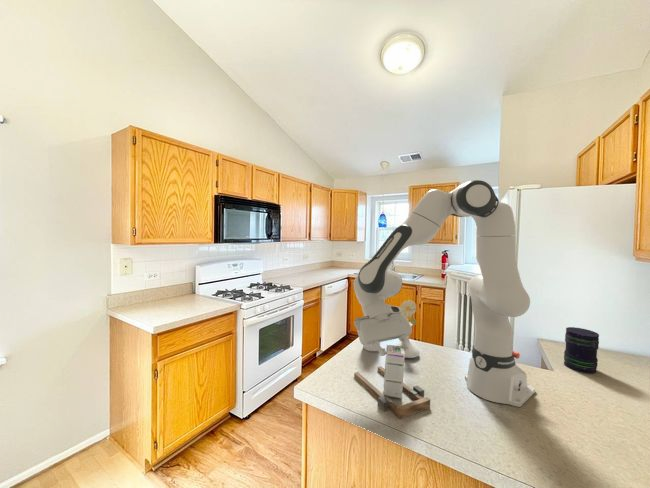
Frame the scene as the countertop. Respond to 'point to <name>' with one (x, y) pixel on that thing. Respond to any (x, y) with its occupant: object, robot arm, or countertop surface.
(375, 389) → the beam slot
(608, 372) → the countertop surface
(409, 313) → the flower in vase
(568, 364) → the storage jar
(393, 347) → the syrup box
